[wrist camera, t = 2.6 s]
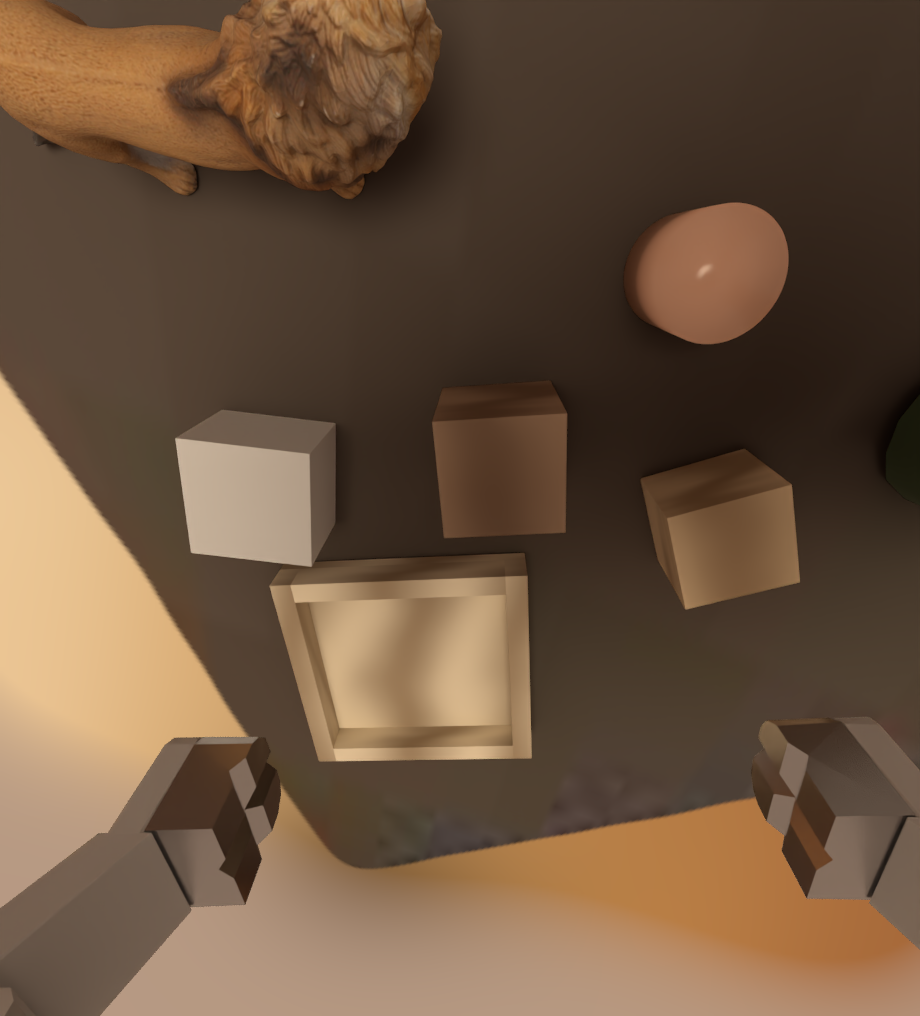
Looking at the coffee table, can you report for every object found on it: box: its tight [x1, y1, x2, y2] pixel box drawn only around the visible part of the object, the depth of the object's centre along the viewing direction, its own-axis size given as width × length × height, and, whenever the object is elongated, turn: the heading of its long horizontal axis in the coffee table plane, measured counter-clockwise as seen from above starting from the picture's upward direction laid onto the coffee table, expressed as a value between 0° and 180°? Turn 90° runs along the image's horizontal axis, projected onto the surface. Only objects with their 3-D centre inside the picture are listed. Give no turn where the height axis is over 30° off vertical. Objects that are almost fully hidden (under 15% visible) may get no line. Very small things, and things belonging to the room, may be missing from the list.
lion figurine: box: [0, 0, 442, 199], centre depth 14 cm, size 15×5×9 cm, turn 94°
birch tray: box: [270, 553, 532, 761], centre depth 27 cm, size 12×12×2 cm
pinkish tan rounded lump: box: [623, 203, 789, 344], centre depth 18 cm, size 4×4×4 cm
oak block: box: [640, 449, 800, 609], centre depth 22 cm, size 4×4×4 cm
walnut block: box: [432, 380, 567, 538], centre depth 21 cm, size 4×4×5 cm
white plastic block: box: [175, 410, 336, 567], centre depth 22 cm, size 5×5×4 cm
